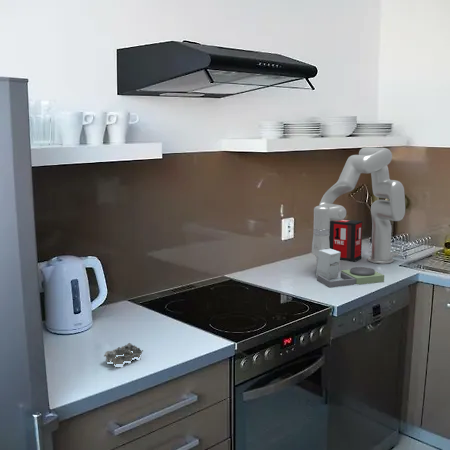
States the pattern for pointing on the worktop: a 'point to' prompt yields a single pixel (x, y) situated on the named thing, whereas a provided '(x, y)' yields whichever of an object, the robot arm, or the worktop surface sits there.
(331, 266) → the supplement box
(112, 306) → the worktop surface
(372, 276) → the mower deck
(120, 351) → the grey lumpy cluster
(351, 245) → the cleaning product box
